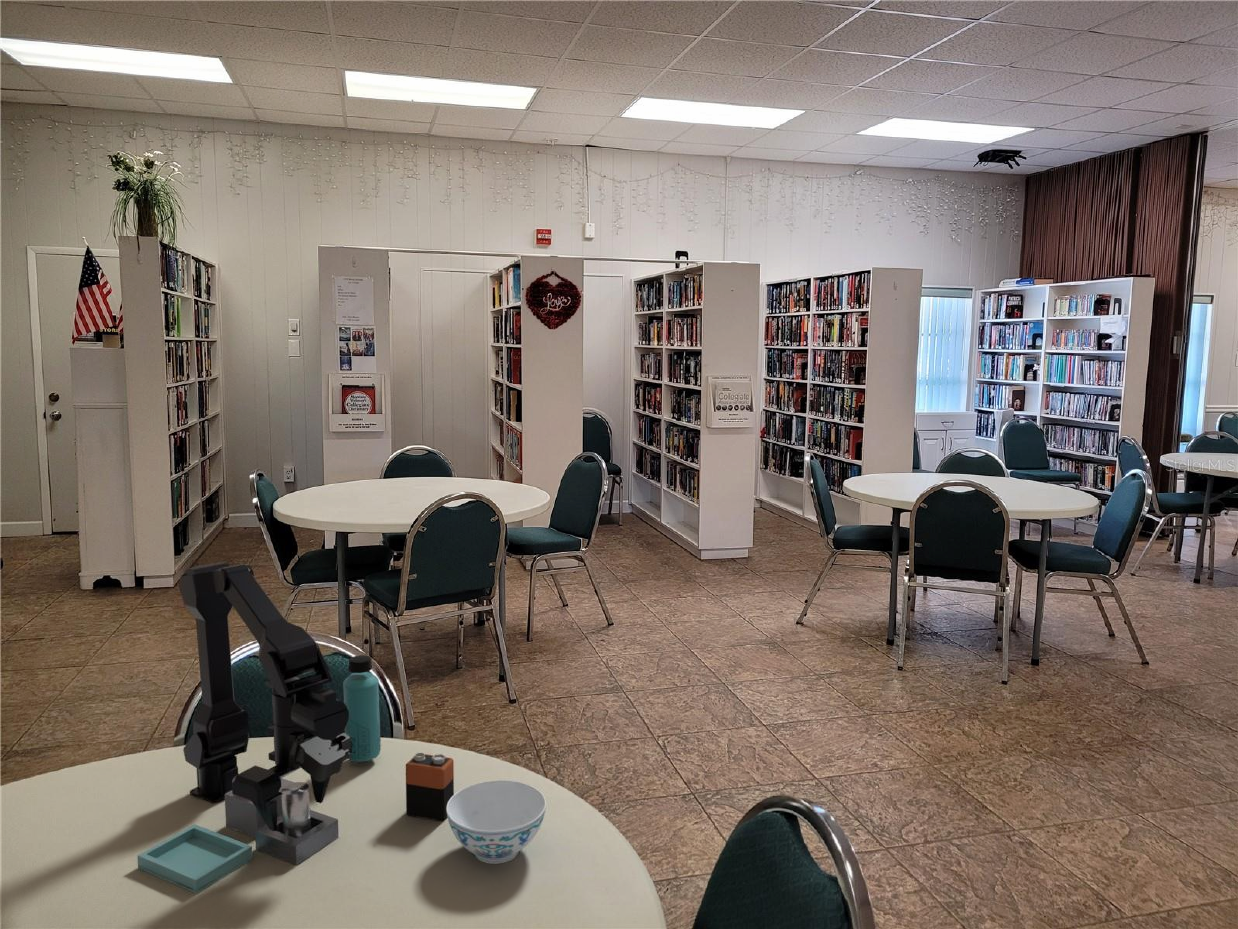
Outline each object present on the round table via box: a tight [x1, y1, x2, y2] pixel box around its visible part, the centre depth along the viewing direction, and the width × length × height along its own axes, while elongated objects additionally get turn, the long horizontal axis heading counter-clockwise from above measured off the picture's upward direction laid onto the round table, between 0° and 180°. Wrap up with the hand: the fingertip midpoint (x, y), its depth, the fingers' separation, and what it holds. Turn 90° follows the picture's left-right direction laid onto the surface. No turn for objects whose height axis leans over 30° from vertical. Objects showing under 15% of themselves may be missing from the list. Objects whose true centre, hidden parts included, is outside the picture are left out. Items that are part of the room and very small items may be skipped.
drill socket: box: [254, 809, 339, 866], centre depth 138 cm, size 8×8×3 cm
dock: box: [224, 777, 295, 838], centre depth 144 cm, size 7×8×6 cm
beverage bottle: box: [342, 654, 382, 763], centre depth 163 cm, size 6×7×20 cm
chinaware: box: [446, 779, 547, 865], centre depth 136 cm, size 15×15×8 cm
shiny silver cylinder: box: [281, 781, 311, 839], centre depth 137 cm, size 4×4×9 cm
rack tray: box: [136, 824, 253, 894], centre depth 132 cm, size 13×10×2 cm
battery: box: [405, 752, 455, 822], centre depth 147 cm, size 4×7×10 cm, turn 75°
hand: (296, 815), depth 137 cm, fingers open, 9 cm apart
